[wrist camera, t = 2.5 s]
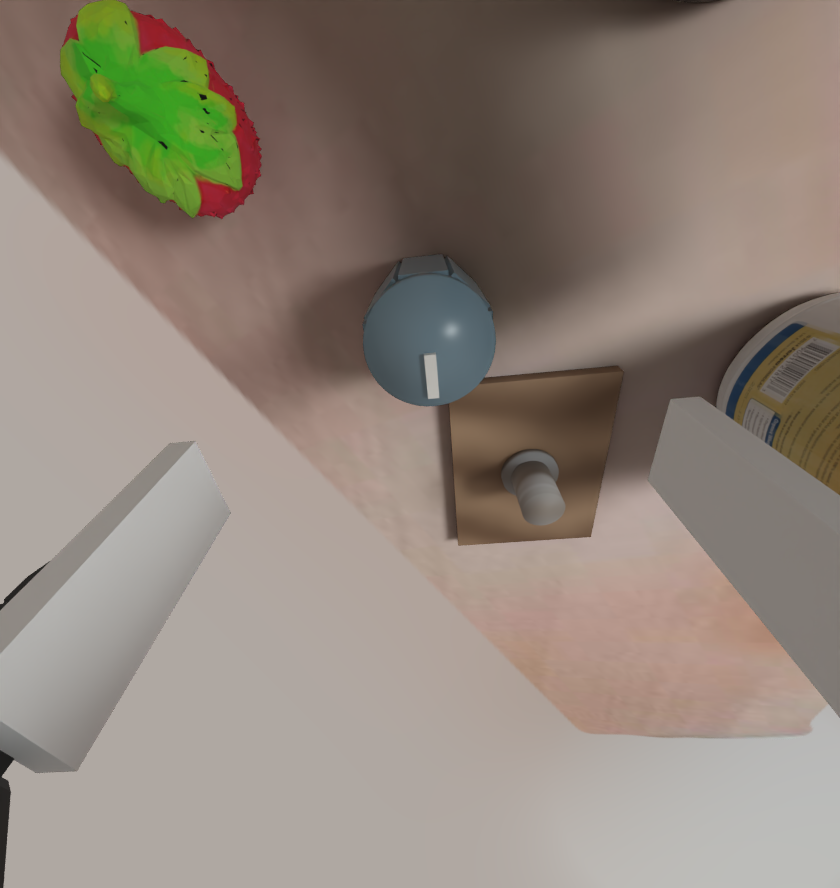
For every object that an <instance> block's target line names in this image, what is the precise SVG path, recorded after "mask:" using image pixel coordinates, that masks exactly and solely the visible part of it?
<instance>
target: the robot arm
mask: <svg viewBox="0 0 840 888" xmlns="http://www.w3.org/2000/svg"><path fill="white" fill-rule="evenodd" d="M674 1H681V2H708V1H715V0H674ZM648 481H649V483H650V484H651V485H652V486H653V488H654V489H655V490H656V491H657V493H658V494H659V495H660V496H661V497H662V499H663V500H664V501H665V502H666V504H667V505H668V506H669V507H670V509H671V510H672V511H673V512H674V514H675V515H676V516H677V517H678V518H679V520H680V521H681V522H682V523H683V525H684V526H685V527H686V528H687V530H688V531H689V532H690V533H691V535H692V536H693V537H694V538H695V539H696V541H697V542H698V543H699V544H700V546H701V547H702V548H703V549H704V551H705V552H706V553H707V554H708V555H709V557H710V558H711V559H712V560H713V562H714V563H715V564H716V565H717V567H718V568H719V569H720V570H721V572H722V573H723V574H724V575H725V576H726V578H727V579H728V580H729V581H730V583H731V584H732V585H733V586H734V588H735V589H736V590H737V591H738V593H739V594H740V595H741V596H742V597H743V599H744V600H745V601H746V602H747V604H748V605H749V606H750V607H751V609H752V610H753V611H754V612H755V614H756V615H757V616H758V617H759V618H760V620H761V621H762V622H763V623H764V625H765V626H766V627H767V628H768V630H769V631H770V632H771V633H772V635H773V636H774V637H775V638H776V639H777V641H778V642H779V643H780V644H781V646H782V647H783V648H784V649H785V651H786V652H787V653H788V654H789V656H790V657H791V658H792V659H793V660H794V662H795V663H796V664H797V665H798V667H799V668H800V669H801V670H802V672H803V673H804V674H805V675H806V677H807V678H808V679H809V680H810V681H811V683H812V684H813V685H814V686H815V688H816V689H817V690H818V691H819V693H820V694H821V695H822V696H823V698H824V699H825V700H826V701H827V702H828V704H829V705H830V706H831V707H832V709H833V710H834V711H835V712H836V714H837V715H838V716H839V717H840V495H839V494H837V493H836V492H834V491H833V490H832V489H830V488H829V487H827V486H826V485H824V484H823V483H822V482H820V481H819V480H817V479H816V478H815V477H813V476H812V475H810V474H809V473H807V472H806V471H805V470H803V469H802V468H800V467H799V466H798V465H796V464H795V463H793V462H792V461H791V460H789V459H788V458H786V457H785V456H783V455H782V454H781V453H779V452H778V451H776V450H775V449H774V448H772V447H771V446H769V445H768V444H766V443H765V442H764V441H762V440H761V439H759V438H758V437H757V436H755V435H754V434H752V433H751V432H749V431H748V430H747V429H745V428H744V427H742V426H741V425H740V424H738V423H737V422H735V421H734V420H733V419H731V418H730V417H728V416H727V415H725V414H724V413H723V412H721V411H720V410H718V409H717V408H716V407H714V406H713V405H711V404H710V403H708V402H707V401H706V400H704V399H703V398H701V397H688V398H677V399H670V402H669V406H668V409H667V413H666V416H665V420H664V424H663V427H662V431H661V434H660V438H659V442H658V445H657V449H656V452H655V456H654V459H653V463H652V467H651V470H650V474H649V477H648ZM230 514H231V512H230V510H229V508H228V506H227V504H226V502H225V500H224V498H223V496H222V494H221V492H220V490H219V488H218V486H217V484H216V482H215V480H214V477H213V476H212V473H211V471H210V469H209V467H208V465H207V463H206V461H205V459H204V457H203V455H202V453H201V451H200V449H199V447H198V445H197V443H196V441H190V442H179V443H170V444H169V445H168V446H167V447H165V448H164V449H163V450H162V451H161V452H160V453H159V454H158V455H157V457H156V458H154V459H153V460H152V461H151V462H150V463H149V465H147V466H146V467H145V468H144V469H143V470H142V471H141V472H140V473H139V474H138V475H137V476H136V477H135V478H134V479H133V480H132V481H131V482H130V483H129V484H128V485H127V486H126V487H125V488H124V489H123V490H122V491H121V492H120V493H119V494H118V495H117V496H116V497H115V498H114V499H113V500H112V501H111V502H110V503H109V504H108V505H107V506H106V507H105V508H104V509H103V510H102V511H101V512H100V513H99V514H98V515H97V516H96V517H95V518H93V519H92V521H90V522H89V523H88V524H87V525H86V526H85V527H84V529H82V530H81V532H79V533H78V534H77V535H76V536H75V537H74V538H73V539H72V540H71V541H70V542H69V543H68V544H67V545H66V546H65V547H64V548H63V549H62V550H61V551H60V552H59V553H58V554H57V555H56V556H55V557H54V558H53V559H52V560H51V561H49V562H48V563H47V564H45V565H44V566H43V567H41V568H39V569H38V570H37V571H35V572H34V573H32V574H31V575H29V576H28V577H27V578H26V579H25V580H24V581H23V582H22V583H21V584H20V585H19V586H17V587H16V588H15V589H14V590H13V591H12V592H11V593H10V594H9V595H8V596H7V597H6V598H5V599H4V603H3V604H0V888H3V883H4V871H5V858H6V845H7V833H8V819H9V807H10V794H11V791H10V787H9V782H8V781H7V780H6V779H4V778H2V775H3V774H4V772H5V771H6V770H7V768H8V767H9V765H10V764H11V763H12V761H13V760H15V761H17V762H19V763H20V764H22V765H24V766H25V767H27V768H29V769H30V770H32V771H34V772H35V773H45V772H68V771H77V770H78V769H79V767H80V765H81V763H82V762H83V760H84V758H85V757H86V755H87V753H88V752H89V750H90V748H91V747H92V745H93V743H94V742H95V740H96V738H97V737H98V735H99V733H100V732H101V730H102V728H103V727H104V725H105V723H106V722H107V720H108V718H109V716H110V715H111V713H112V712H113V710H114V708H115V706H116V705H117V703H118V701H119V700H120V698H121V696H122V695H123V693H124V691H125V690H126V688H127V686H128V685H129V683H130V681H131V680H132V678H133V676H134V675H135V673H136V671H137V669H138V668H139V666H140V664H141V663H142V661H143V659H144V658H145V656H146V654H147V653H148V651H149V649H150V648H151V646H152V644H153V643H154V641H155V639H156V637H157V636H158V634H159V633H160V631H161V629H162V628H163V626H164V624H165V623H166V621H167V619H168V617H169V616H170V614H171V612H172V611H173V609H174V607H175V606H176V604H177V602H178V601H179V599H180V597H181V596H182V594H183V592H184V591H185V589H186V587H187V585H188V584H189V582H190V581H191V579H192V577H193V575H194V574H195V572H196V571H197V569H198V567H199V565H200V564H201V562H202V560H203V559H204V557H205V555H206V554H207V552H208V550H209V549H210V547H211V545H212V543H213V542H214V540H215V539H216V537H217V535H218V534H219V532H220V530H221V528H222V527H223V525H224V523H225V522H226V520H227V519H228V517H229V515H230Z"/></svg>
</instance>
